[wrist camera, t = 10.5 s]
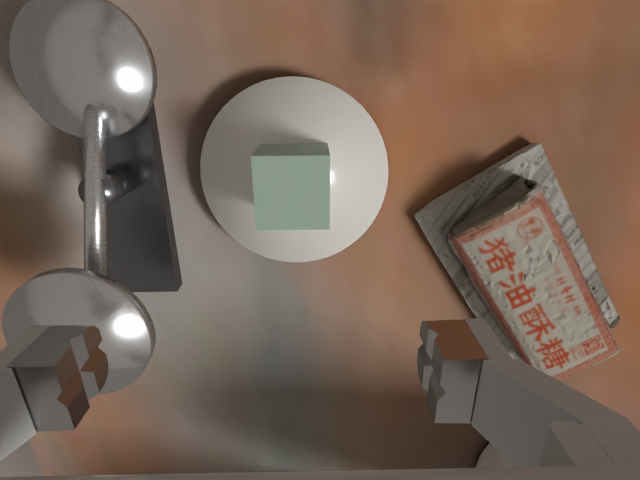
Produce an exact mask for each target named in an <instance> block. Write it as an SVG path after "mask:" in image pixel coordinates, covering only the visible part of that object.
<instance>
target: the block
mask: <svg viewBox="0 0 640 480" xmlns="http://www.w3.org/2000/svg"><path fill="white" fill-rule="evenodd" d="M251 166H252V181H253V195H254V209H255V224H256V230H330V152H329V148H328V143H309V144H260V145H259V146H258V148H257V149H256V150H255V151H254V153H253V154H252V155H251Z"/></svg>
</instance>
